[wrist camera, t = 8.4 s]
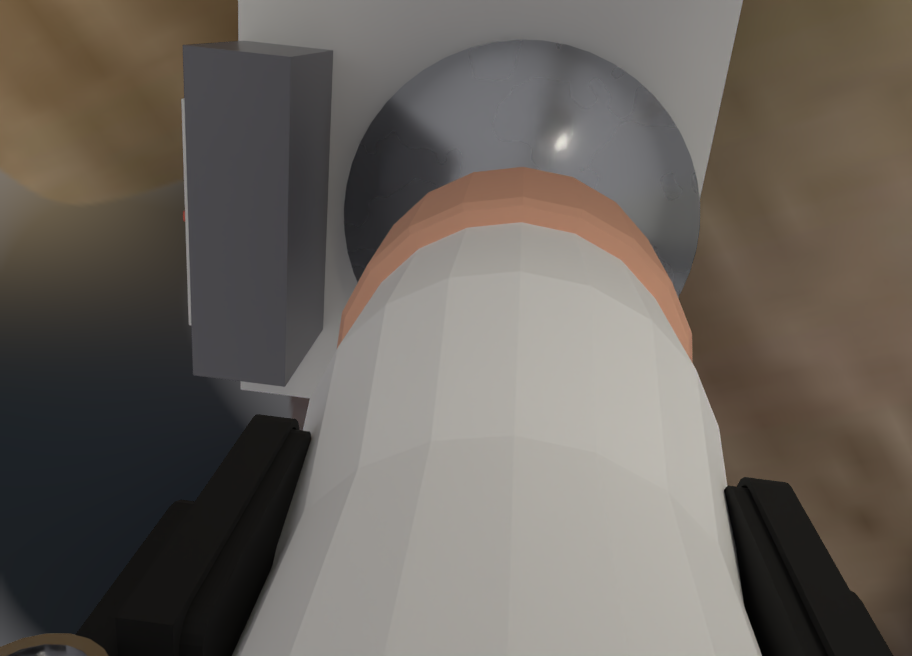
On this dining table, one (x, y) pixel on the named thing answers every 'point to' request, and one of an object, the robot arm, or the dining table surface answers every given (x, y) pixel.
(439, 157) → the scale pan
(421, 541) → the salt shaker
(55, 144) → the dining table surface
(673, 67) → the base
